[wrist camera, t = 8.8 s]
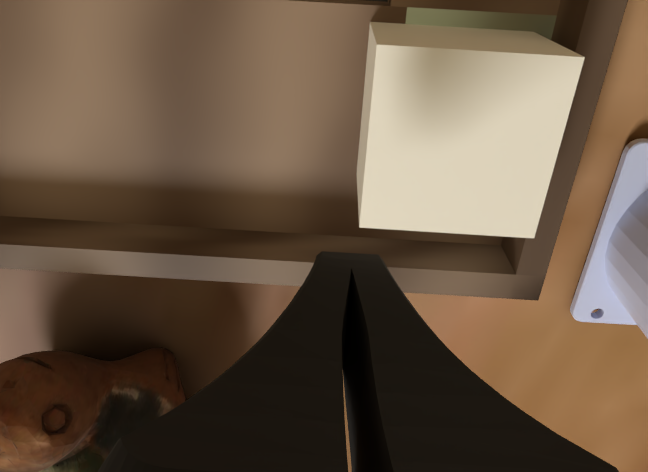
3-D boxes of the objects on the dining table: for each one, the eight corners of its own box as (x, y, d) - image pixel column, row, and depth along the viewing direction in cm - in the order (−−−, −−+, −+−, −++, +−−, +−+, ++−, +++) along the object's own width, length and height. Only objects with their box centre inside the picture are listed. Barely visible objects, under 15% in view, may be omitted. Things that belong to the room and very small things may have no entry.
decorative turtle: (165, 254, 23) (106, 408, 16) (253, 469, 31) (238, 632, 24) (-51, 290, 23) (-197, 453, 16) (91, 491, 31) (32, 656, 25)
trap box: (609, -138, 15) (674, -157, 12) (511, 249, 22) (538, 300, 19) (-216, -183, 16) (-352, -213, 13) (-76, 214, 22) (-144, 259, 19)
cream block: (533, 31, 16) (584, 57, 13) (498, 182, 19) (534, 238, 15) (369, 21, 16) (376, 44, 13) (356, 173, 19) (358, 227, 15)
